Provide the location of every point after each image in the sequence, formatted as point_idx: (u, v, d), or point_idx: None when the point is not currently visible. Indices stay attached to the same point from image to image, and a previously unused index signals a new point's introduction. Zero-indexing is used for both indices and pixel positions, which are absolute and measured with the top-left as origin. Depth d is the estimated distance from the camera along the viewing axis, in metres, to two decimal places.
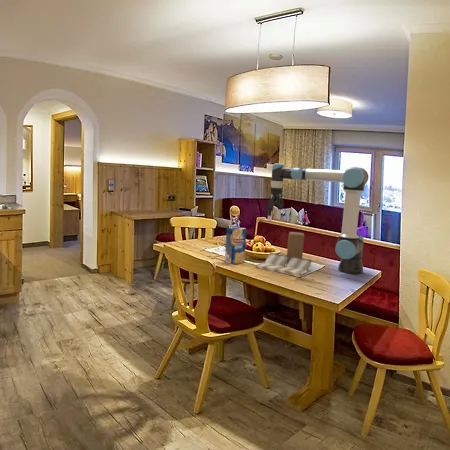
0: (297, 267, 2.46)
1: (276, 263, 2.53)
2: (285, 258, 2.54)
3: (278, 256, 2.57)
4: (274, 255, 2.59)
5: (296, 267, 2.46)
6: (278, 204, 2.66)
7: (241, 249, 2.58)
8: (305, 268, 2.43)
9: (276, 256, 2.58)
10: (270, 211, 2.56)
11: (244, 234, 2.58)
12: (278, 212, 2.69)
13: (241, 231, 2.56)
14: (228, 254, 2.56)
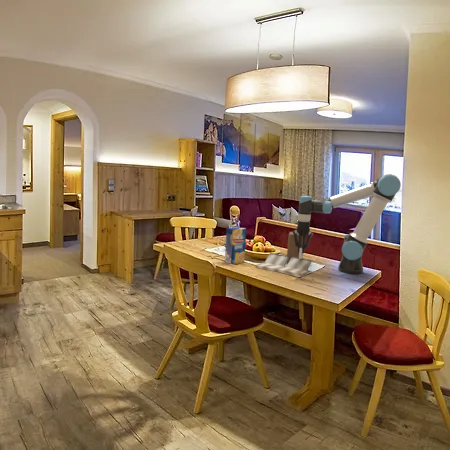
0: (297, 267, 2.46)
1: (276, 263, 2.53)
2: (285, 258, 2.54)
3: (278, 256, 2.57)
4: (274, 255, 2.59)
5: (296, 267, 2.46)
6: None
7: (241, 249, 2.58)
8: (305, 268, 2.43)
9: (276, 256, 2.58)
10: (298, 248, 2.49)
11: (244, 234, 2.58)
12: None
13: (241, 231, 2.56)
14: (228, 254, 2.56)
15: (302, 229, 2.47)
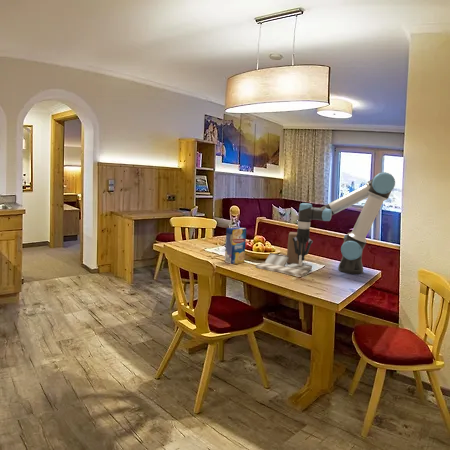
0: (298, 267, 2.47)
1: (276, 263, 2.53)
2: (285, 258, 2.54)
3: (278, 256, 2.57)
4: (274, 255, 2.59)
5: (297, 267, 2.47)
6: None
7: (241, 249, 2.58)
8: (306, 269, 2.44)
9: (276, 256, 2.58)
10: (298, 255, 2.51)
11: (244, 234, 2.58)
12: None
13: (241, 231, 2.56)
14: (228, 254, 2.56)
15: (302, 236, 2.48)
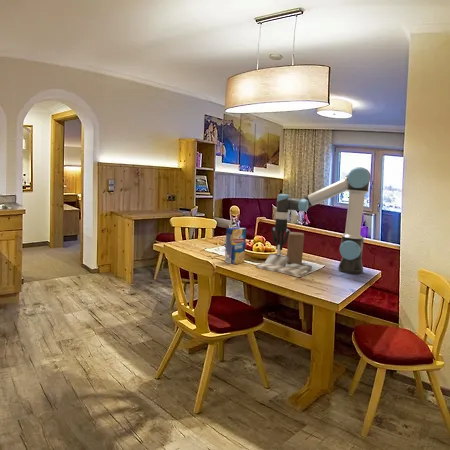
0: (298, 267, 2.47)
1: (276, 263, 2.53)
2: (285, 258, 2.55)
3: (278, 256, 2.58)
4: (274, 255, 2.59)
5: (297, 267, 2.47)
6: None
7: (241, 249, 2.58)
8: (306, 269, 2.44)
9: (276, 256, 2.58)
10: (276, 245, 2.57)
11: (244, 234, 2.58)
12: None
13: (241, 231, 2.56)
14: (228, 254, 2.56)
15: (280, 226, 2.54)
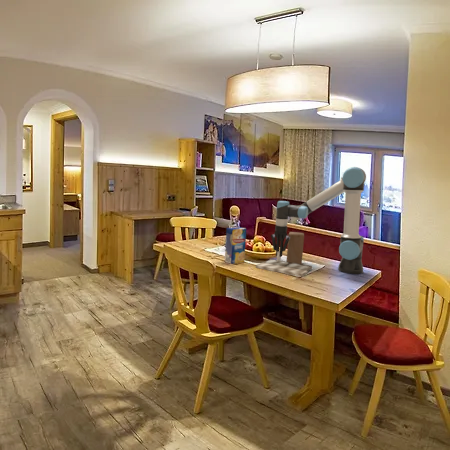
0: (298, 267, 2.47)
1: (277, 263, 2.54)
2: (286, 263, 2.57)
3: None
4: (275, 260, 2.61)
5: (297, 267, 2.47)
6: None
7: (241, 249, 2.58)
8: (306, 269, 2.44)
9: None
10: (276, 251, 2.58)
11: (244, 234, 2.58)
12: None
13: (241, 231, 2.56)
14: (228, 254, 2.56)
15: (279, 233, 2.56)
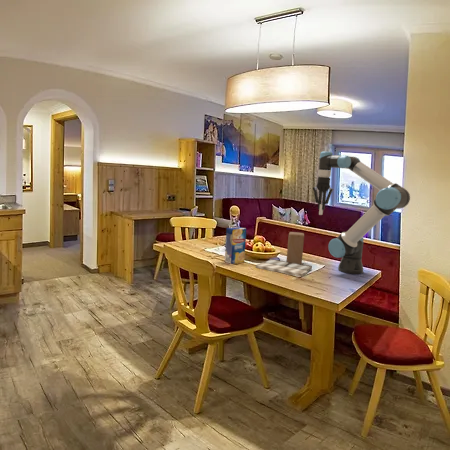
0: (298, 267, 2.47)
1: (277, 263, 2.54)
2: (286, 263, 2.57)
3: (279, 261, 2.60)
4: (275, 260, 2.61)
5: (297, 267, 2.47)
6: None
7: (241, 249, 2.58)
8: (306, 269, 2.44)
9: (277, 261, 2.60)
10: (318, 204, 2.52)
11: (244, 234, 2.58)
12: None
13: (241, 231, 2.56)
14: (228, 254, 2.56)
15: (322, 185, 2.49)
